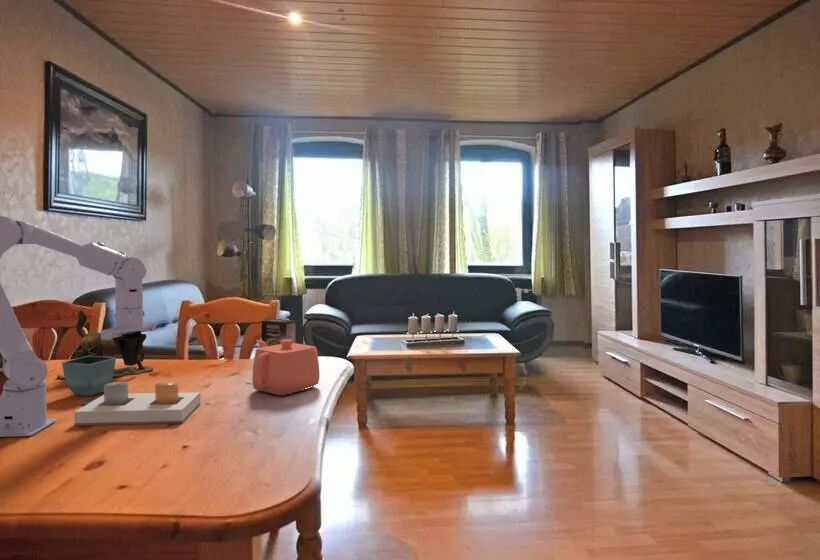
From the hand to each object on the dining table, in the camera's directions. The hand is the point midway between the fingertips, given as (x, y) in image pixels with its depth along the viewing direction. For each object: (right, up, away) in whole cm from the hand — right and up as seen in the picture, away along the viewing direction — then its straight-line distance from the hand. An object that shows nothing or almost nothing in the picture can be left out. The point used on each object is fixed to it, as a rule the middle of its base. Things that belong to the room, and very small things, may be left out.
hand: (130, 364), depth 121 cm
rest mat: (-11, -10, +6) cm, 16 cm away
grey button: (-1, -8, -4) cm, 9 cm away
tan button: (+10, -8, -3) cm, 13 cm away
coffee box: (+24, -9, +43) cm, 50 cm away
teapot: (+30, -10, +22) cm, 38 cm away
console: (+5, -11, -3) cm, 12 cm away
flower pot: (-18, -10, +13) cm, 24 cm away
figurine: (-26, -9, +34) cm, 43 cm away
